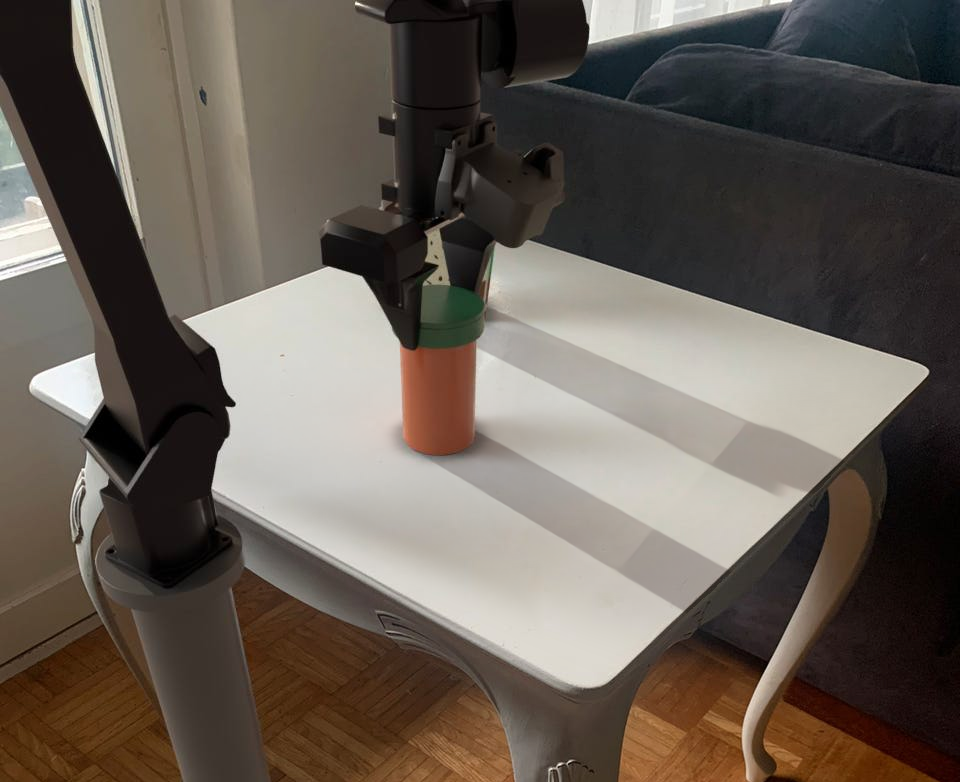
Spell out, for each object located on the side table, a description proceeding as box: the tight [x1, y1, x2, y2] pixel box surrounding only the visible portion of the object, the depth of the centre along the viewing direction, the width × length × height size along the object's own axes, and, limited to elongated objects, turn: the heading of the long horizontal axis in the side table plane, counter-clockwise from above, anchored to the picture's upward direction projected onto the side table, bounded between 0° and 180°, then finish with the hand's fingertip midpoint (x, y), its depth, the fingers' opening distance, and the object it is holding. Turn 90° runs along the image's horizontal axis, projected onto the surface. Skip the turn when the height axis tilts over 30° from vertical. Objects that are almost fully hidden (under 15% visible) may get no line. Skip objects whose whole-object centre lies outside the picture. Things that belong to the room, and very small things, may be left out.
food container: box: [378, 199, 496, 320], centre depth 93 cm, size 12×6×10 cm, turn 71°
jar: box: [399, 339, 478, 456], centre depth 73 cm, size 6×6×11 cm
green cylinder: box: [391, 285, 486, 349], centre depth 70 cm, size 7×7×2 cm
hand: (437, 331), depth 71 cm, fingers closed on green cylinder, 7 cm apart
